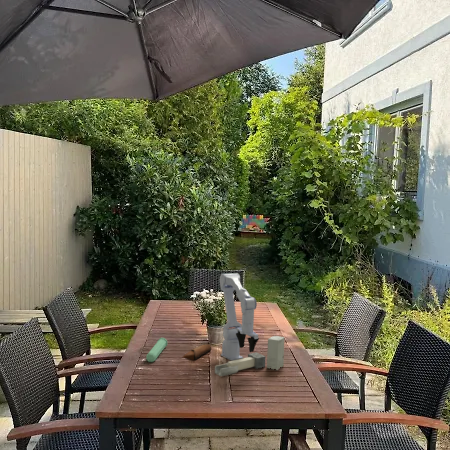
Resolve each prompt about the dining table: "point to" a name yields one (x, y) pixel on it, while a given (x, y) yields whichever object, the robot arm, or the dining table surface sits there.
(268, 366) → the skincare box
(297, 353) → the dining table surface
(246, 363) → the inner rod
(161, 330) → the dining table surface
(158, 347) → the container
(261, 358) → the socket
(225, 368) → the sleeve
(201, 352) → the sunglasses case
